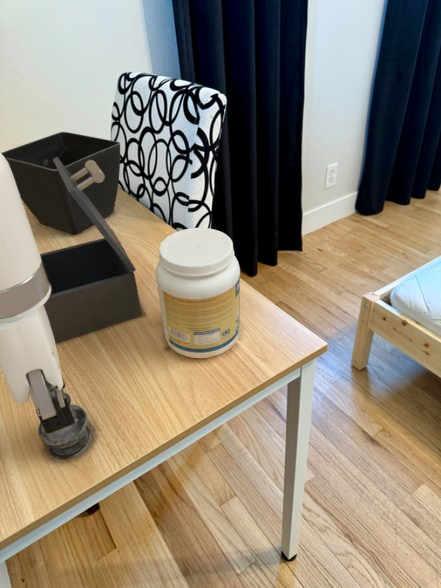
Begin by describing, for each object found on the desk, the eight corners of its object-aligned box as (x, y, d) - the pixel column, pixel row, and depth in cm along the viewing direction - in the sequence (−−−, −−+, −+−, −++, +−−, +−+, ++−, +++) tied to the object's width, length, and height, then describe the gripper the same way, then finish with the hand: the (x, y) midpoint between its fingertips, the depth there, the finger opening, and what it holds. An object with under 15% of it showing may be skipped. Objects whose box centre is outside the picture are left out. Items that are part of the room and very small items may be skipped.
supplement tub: (254, 343, 68) (257, 253, 57) (185, 373, 63) (174, 281, 53) (216, 301, 76) (213, 216, 66) (153, 326, 72) (138, 238, 61)
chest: (48, 345, 69) (32, 302, 63) (37, 298, 78) (22, 258, 73) (142, 315, 74) (134, 273, 68) (120, 274, 84) (112, 235, 78)
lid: (68, 192, 57) (101, 170, 57) (52, 159, 66) (81, 141, 67) (132, 273, 68) (159, 254, 68) (110, 234, 78) (134, 218, 78)
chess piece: (36, 449, 54) (4, 387, 47) (69, 414, 58) (44, 352, 51) (71, 469, 52) (43, 407, 44) (103, 431, 56) (82, 369, 48)
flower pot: (78, 194, 113) (61, 129, 103) (133, 210, 105) (122, 141, 95) (18, 225, 100) (-7, 154, 90) (76, 246, 92) (56, 170, 82)
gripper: (-40, 252, 44) (16, 370, 56) (-40, 360, 32) (32, 483, 43) (35, 234, 47) (74, 351, 58) (62, 328, 35) (105, 453, 46)
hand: (56, 407), depth 51 cm, fingers open, 5 cm apart
